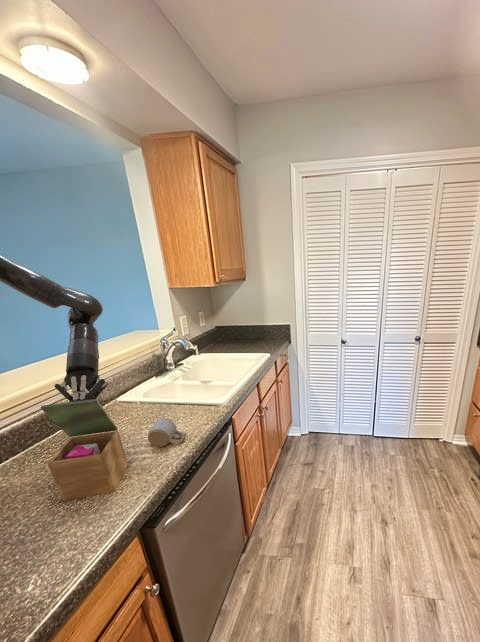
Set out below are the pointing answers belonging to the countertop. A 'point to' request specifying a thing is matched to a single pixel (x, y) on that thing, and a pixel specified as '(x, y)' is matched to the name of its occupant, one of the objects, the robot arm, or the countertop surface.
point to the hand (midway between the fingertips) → (80, 414)
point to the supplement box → (83, 451)
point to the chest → (89, 466)
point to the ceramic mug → (163, 433)
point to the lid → (80, 417)
